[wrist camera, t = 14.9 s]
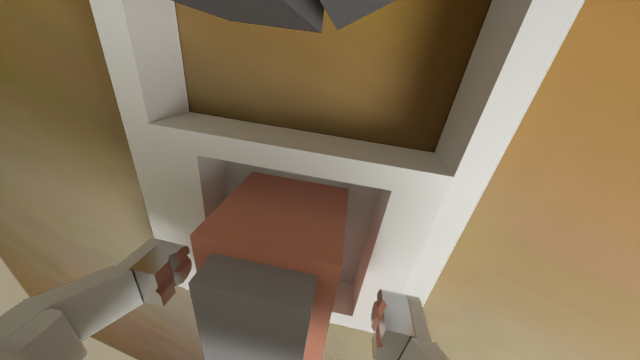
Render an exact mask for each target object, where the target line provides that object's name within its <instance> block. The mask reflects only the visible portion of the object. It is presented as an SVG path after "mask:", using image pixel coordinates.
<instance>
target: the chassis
mask: <svg viewBox="0 0 640 360" xmlns="http://www.w3.org/2000/svg"><path fill="white" fill-rule="evenodd" d="M89 1H90V5H91V9H92V12H93V16H94V20H95V23H96V27H97V31H98V34H99V38H100V41H101V45H102V49H103V52H104V56H105V60H106V63H107V67H108V71H109V74H110V78H111V82H112V85H113V89H114V93H115V96H116V100H117V104H118V107H119V111H120V115H121V118H122V122H123V125H124V129H125V133H126V136H127V140H128V144H129V147H130V151H131V155H132V158H133V162H134V166H135V169H136V173H137V177H138V180H139V184H140V188H141V191H142V195H143V199H144V202H145V206H146V209H147V213H148V217H149V220H150V224H151V228H152V231H153V235H154V238H156V239H160V240H164V241H168V242H172V243H176V244H180V245H184V246H188V247H189V251H190V253H189V254H188V255H187V256H188V257H189V258H190V259H191V262H192V268H191V271H190V273H189V276H188V277H187V279H186V280H185V281H184V282H183V283H182V284H180V285H178V286H181V287H184V289H187V290H189V285H188V283H189V281H190V280H191V279H192V278H193V276H194V275H195V274H196V267H195V261H194V256H193V251H192V245H191V240H190V234H191V233H192V232H193V231H194V230H195V229H196V228H197V227H198V226H199V225H200V224H201V223H202V222H203V221H204V220H205V219H206V218H207V217H208V216H209V215H210V214H211V213H212V212H213V211H214V210H215V209H216V208H217V207H218V206H219V205H220V204H221V203H222V202H223V201H224V200H225V199H226V198H227V197H228V196H229V195H230V194H231V193H232V192H233V191H234V190H235V189H236V188H237V187H238V186H239V185H240V184H241V183H242V182H243V181H244V180H245V179H246V178H247V177H248V176H249V175H250V174H251V173H252V172H257V173H263V174H268V175H274V176H279V177H285V178H291V179H296V180H302V181H307V182H313V183H319V184H324V185H330V186H335V187H341V188H347V189H349V192H348V204H347V216H346V227H345V239H344V251H343V263H342V269H341V274H340V278H339V283H338V287H337V291H336V296H335V300H334V304H333V309H332V313H331V317H330V322H329V323H333V324H338V325H342V326H346V327H351V328H355V329H359V330H364V331H368V332H372V333H375V332H374V331H373V329H372V328H371V313H372V307H373V304H374V302H375V301H377V293H378V291H379V290H380V289H383V290H388V291H392V292H397V293H402V294H405V295H410V296H414V297H419V298H420V300H421V303H422V307H423V305H424V303H425V301H426V300H427V298H428V296H429V294H430V292H431V290H432V288H433V286H434V284H435V283H436V281H437V279H438V277H439V275H440V273H441V271H442V269H443V267H444V266H445V264H446V262H447V260H448V258H449V256H450V254H451V252H452V250H453V249H454V247H455V245H456V243H457V241H458V239H459V237H460V235H461V233H462V232H463V230H464V228H465V226H466V224H467V222H468V220H469V218H470V216H471V215H472V213H473V211H474V209H475V207H476V205H477V203H478V201H479V199H480V198H481V196H482V194H483V192H484V190H485V188H486V186H487V184H488V182H489V181H490V179H491V177H492V175H493V173H494V171H495V169H496V167H497V165H498V164H499V162H500V160H501V158H502V156H503V154H504V152H505V150H506V148H507V147H508V145H509V143H510V141H511V139H512V137H513V135H514V133H515V131H516V130H517V128H518V126H519V124H520V122H521V120H522V118H523V116H524V114H525V113H526V111H527V109H528V107H529V105H530V103H531V101H532V99H533V97H534V96H535V94H536V92H537V90H538V88H539V86H540V84H541V82H542V80H543V79H544V77H545V75H546V73H547V71H548V69H549V67H550V65H551V63H552V62H553V60H554V58H555V56H556V54H557V52H558V50H559V48H560V46H561V45H562V43H563V41H564V39H565V37H566V35H567V33H568V31H569V29H570V28H571V26H572V24H573V22H574V20H575V18H576V16H577V14H578V12H579V11H580V9H581V7H582V5H583V3H584V1H585V0H492V2H491V5H490V7H489V10H488V13H487V15H486V18H485V21H484V23H483V26H482V28H481V31H480V34H479V36H478V39H477V42H476V44H475V47H474V50H473V52H472V55H471V57H470V60H469V63H468V65H467V68H466V71H465V73H464V76H463V79H462V81H461V84H460V87H459V89H458V92H457V94H456V97H455V100H454V102H453V105H452V108H451V110H450V113H449V116H448V118H447V121H446V123H445V126H444V129H443V131H442V134H441V137H440V139H439V142H438V145H437V147H436V150H435V152H434V153H433V152H427V151H421V150H415V149H409V148H403V147H397V146H391V145H385V144H379V143H373V142H367V141H361V140H355V139H349V138H343V137H337V136H331V135H325V134H319V133H313V132H307V131H301V130H295V129H289V128H283V127H277V126H271V125H265V124H259V123H253V122H247V121H241V120H235V119H229V118H223V117H217V116H211V115H205V114H199V113H193V112H189V106H188V98H187V91H186V84H185V76H184V69H183V62H182V54H181V47H180V40H179V32H178V25H177V18H176V10H175V3H174V1H171V0H89Z"/></svg>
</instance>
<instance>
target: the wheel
mask: <svg viewBox="0 0 640 360" xmlns="http://www.w3.org/2000/svg"><path fill="white" fill-rule="evenodd" d="M171 1H174V2H177V3H180V4H183V5H186V6H189V7H192V8H195V9H197V10H200V11H203V12H206V13H209V14H212V15H215V16H218V17H221V18H224V19H227V20H230V21H235V22H243V23H250V24H258V25H265V26H273V27H280V28H288V29H296V30H303V31H311V32H318V33H321V32H322V22H323V13H324V8H325V10H326V12H327V13H328V15H329V17H330V18H331V20H332V21H333V23H334V25H335V26H336V28H337V30H339V29H341V28H342V27H344V26H346V25H348V24H350V23H352V22H354V21H356V20H358V19H360V18H362V17H364V16H366V15H368V14H370V13H372V12H374V11H376V10H378V9H380V8H381V7H383V6H385V5H387V4H389V3H391V2H393V1H395V0H171Z"/></svg>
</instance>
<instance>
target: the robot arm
mask: <svg viewBox="0 0 640 360" xmlns="http://www.w3.org/2000/svg"><path fill="white" fill-rule="evenodd" d="M189 253H190V251H189V247H188V246H184V245H180V244H176V243H172V242H168V241H164V240H160V239H156V238H152V239H150V240H148V241H147V242H145V243H144V244H143V245H142V246H141V247H139V248H138V249H137V250H136V251H134V252H133V253H132V254H131V255H129V256H128V257H127V258H126V259H125V260H123V261H122V262H121V263H120V264H118V265H117V266H116V267H115V266H111V267H108V268H105V269H103V270H100V271H98V272H95V273H93V274H90V275H87V276H85V277H82V278H80V279H77V280H74V281H72V282H69V283H67V284H64V285H61V286H59V287H56V288H54V289H51V290H48V291H46V292H43V293H41V294H38V295H36V296H33V297H30V298H28V299H25V300H23V301H22V302H21V303H19V304H18V305H16V306H15V307H13V308H12V309H10V310H9V311H8V312H6V313H5V314H3V315H2V316H0V360H83V359H84V357H85V356H86V354H87V350H86V349H85V347H84V346H83V344H82V341H83V340H85V339H87V338H88V337H90V336H91V335H93V334H95V333H96V332H98V331H100V330H101V329H103V328H104V327H106V326H108V325H109V324H111V323H113V322H114V321H116V320H117V319H119V318H121V317H122V316H124V315H126V314H127V313H129V312H130V311H132V310H134V309H135V308H137V307H139V306H140V305H142V304H143V302H144V303H149V304H153V305H158V306H163V307H164V305H165V304H166V303H167V302H168V301H169V299H170V298H171V297H172V296H173V295H174V293H175V292H176V286H178V285H180V284H182V283H183V282H184V281H185V280H186V279H187V277H188V276H189V273H190V271H191V268H192V262H191V259H190V258H189V257H188V256H187V255H188V254H189ZM371 328H372V329H373V331H374V332H375V333H374V335H373V338H372V354H373V359H376V360H449V359H448V357H447V356H446V355H445V354H444V352H443V351H442V350H441V349H440V347H439V346H438V345H437V343H435V342H432V341H431V337H430V333H429V329H428V326H427V322H426V318H425V314H424V311H423V307H422V303H421V300H420V298H419V297H414V296H410V295H405V294H402V293H397V292H392V291H388V290H383V289H380V290H379V291H378V293H377V301H375V302H374V304H373V307H372V313H371Z"/></svg>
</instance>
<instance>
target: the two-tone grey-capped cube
mask: <svg viewBox="0 0 640 360" xmlns="http://www.w3.org/2000/svg"><path fill="white" fill-rule="evenodd" d="M348 192H349V189H347V188H341V187H335V186H330V185H324V184H319V183H313V182H307V181H302V180H296V179H291V178H285V177H279V176H274V175H268V174H263V173H257V172H252V173H251V174H250V175H249V176H248V177H247V178H246V179H245V180H244V181H243V182H242V183H241V184H240V185H239V186H238V187H237V188H236V189H235V190H234V191H233V192H232V193H231V194H230V195H229V196H228V197H227V198H226V199H225V200H224V201H223V202H222V203H221V204H220V205H219V206H218V207H217V208H216V209H215V210H214V211H213V212H212V213H211V214H210V215H209V216H208V217H207V218H206V219H205V220H204V221H203V222H202V223H201V224H200V225H199V226H198V227H197V228H196V229H195V230H194V231H193V232H192V233H191V234H190V240H191V245H192V251H193V256H194V261H195V267H196V274H195V275H194V276H193V278H192V279H191V280H190V281H189V283H188V285H189V290H190V294H191V299H192V303H193V308H194V312H195V317H196V322H197V326H198V331H199V335H200V340H201V345H202V349H203V354H204V358H205V360H321V356H322V352H323V348H324V343H325V339H326V335H327V330H328V326H329V322H330V317H331V313H332V309H333V304H334V300H335V296H336V291H337V287H338V283H339V278H340V274H341V269H342V263H343V251H344V239H345V227H346V216H347V204H348Z"/></svg>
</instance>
